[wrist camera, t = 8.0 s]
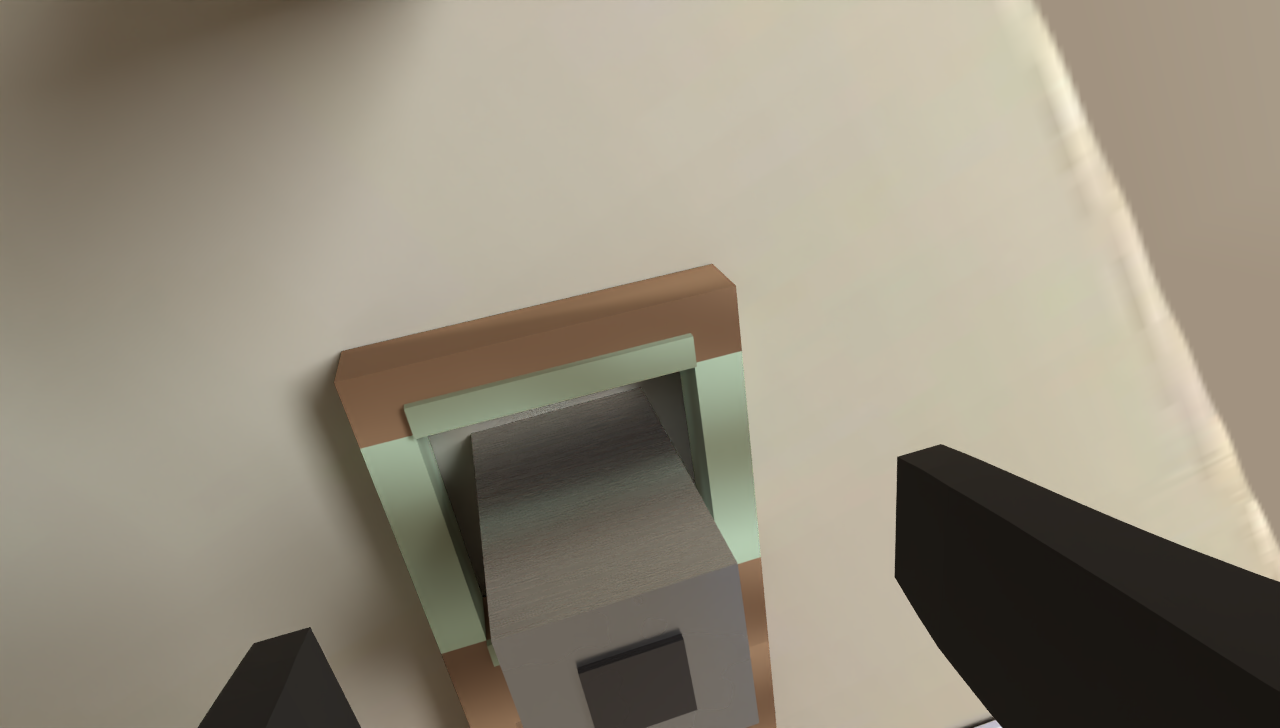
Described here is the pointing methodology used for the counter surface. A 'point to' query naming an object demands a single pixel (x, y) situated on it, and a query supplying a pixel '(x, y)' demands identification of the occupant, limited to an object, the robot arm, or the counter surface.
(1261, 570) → the counter surface
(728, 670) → the block
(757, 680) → the tray
